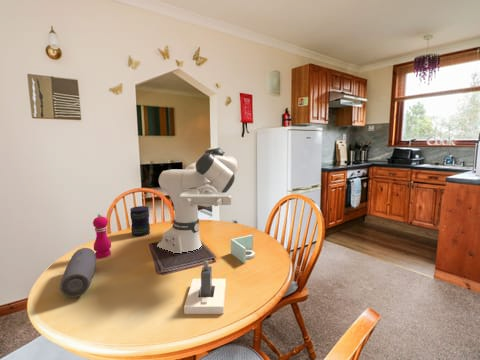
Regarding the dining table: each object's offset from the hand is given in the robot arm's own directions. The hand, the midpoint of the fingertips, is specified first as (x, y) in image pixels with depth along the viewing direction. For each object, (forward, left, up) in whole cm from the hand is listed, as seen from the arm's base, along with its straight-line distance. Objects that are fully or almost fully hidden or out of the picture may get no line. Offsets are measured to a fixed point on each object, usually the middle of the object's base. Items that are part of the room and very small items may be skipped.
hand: (203, 203), depth 93 cm
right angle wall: (+7, +27, -31) cm, 41 cm away
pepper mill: (-54, -1, -30) cm, 62 cm away
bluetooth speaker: (-41, -21, -30) cm, 55 cm away
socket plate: (+7, -9, -30) cm, 32 cm away
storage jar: (-59, +27, -30) cm, 72 cm away
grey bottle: (+7, -9, -30) cm, 32 cm away
